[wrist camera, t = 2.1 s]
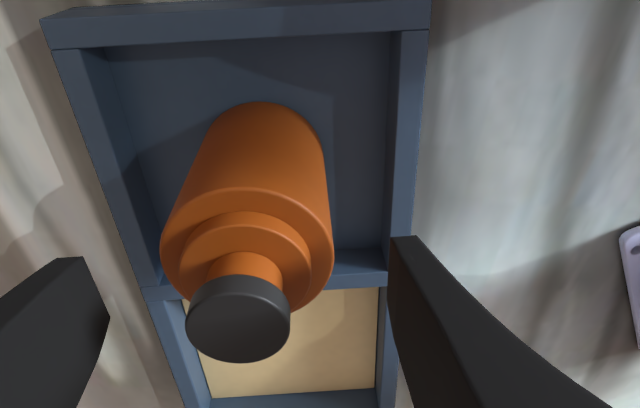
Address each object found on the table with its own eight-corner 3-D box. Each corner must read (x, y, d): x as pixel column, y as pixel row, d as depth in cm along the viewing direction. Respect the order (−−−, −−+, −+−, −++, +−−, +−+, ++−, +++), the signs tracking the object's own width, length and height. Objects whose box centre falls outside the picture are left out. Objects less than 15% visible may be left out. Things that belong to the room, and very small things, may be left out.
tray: (386, 384, 24) (394, 420, 23) (201, 397, 24) (194, 433, 22) (415, -12, 13) (432, -2, 11) (72, 7, 13) (37, 19, 11)
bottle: (343, 177, 16) (375, 353, 9) (246, 224, 17) (214, 414, 10) (283, 77, 14) (271, 212, 7) (177, 137, 15) (80, 306, 8)
